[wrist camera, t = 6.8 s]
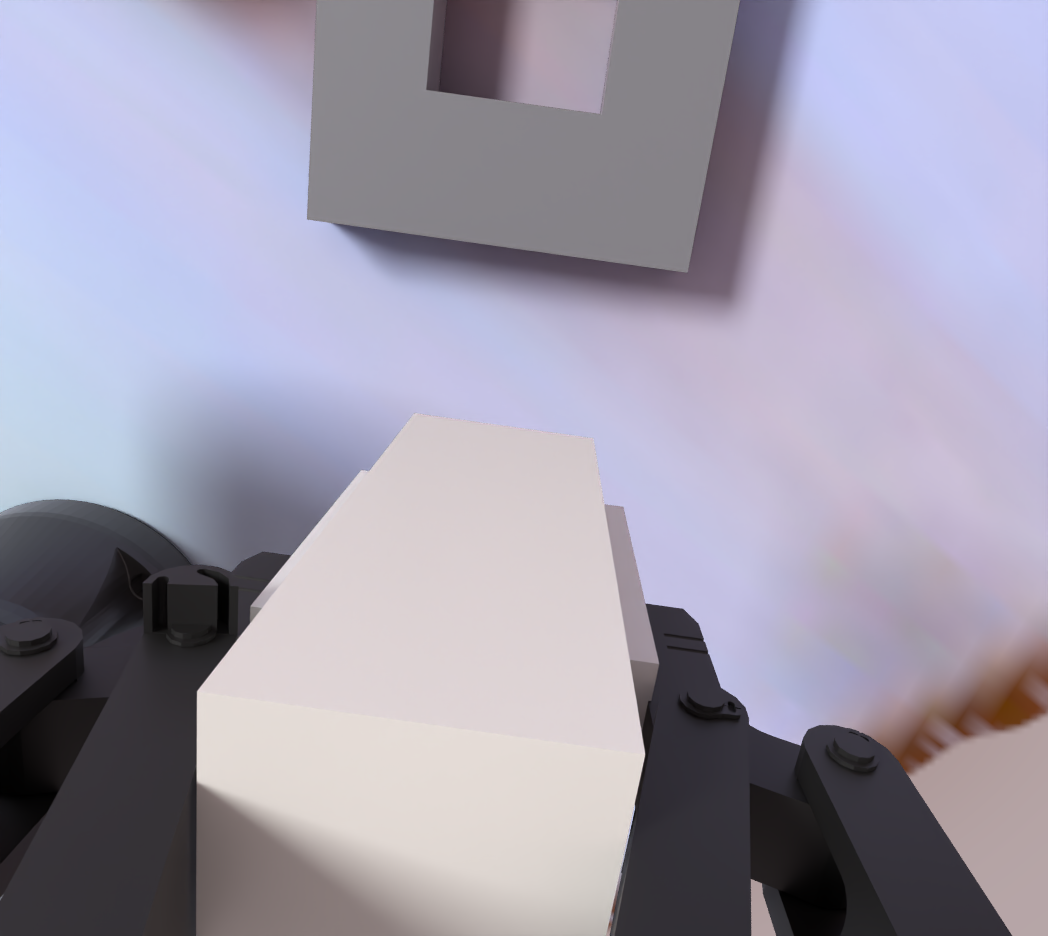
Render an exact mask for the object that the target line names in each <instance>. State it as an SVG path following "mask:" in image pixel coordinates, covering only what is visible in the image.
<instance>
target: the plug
mask: <svg viewBox="0 0 1048 936" xmlns="http://www.w3.org/2000/svg"><path fill="white" fill-rule="evenodd" d="M644 758H645V750H644V744H643V738H642V732H641V726H640V720H639V714H638V707H637V701H636V695H635V689H634V683H633V677H632V671H631V665H630V659H629V653H628V647H627V640H626V634H625V628H624V622H623V616H622V610H621V604H620V598H619V592H618V586H617V580H616V573H615V567H614V561H613V555H612V549H611V543H610V537H609V531H608V525H607V519H606V513H605V506H604V500H603V494H602V488H601V482H600V476H599V470H598V464H597V458H596V452H595V445H594V439H593V438H587V437H580V436H573V435H566V434H559V433H552V432H545V431H537V430H530V429H523V428H516V427H509V426H502V425H495V424H488V423H480V422H473V421H466V420H459V419H452V418H445V417H438V416H431V415H424V414H416V413H414V414H413V416H412V417H411V418H410V420H409V421H408V422H407V423H406V425H405V426H404V427H403V428H402V430H401V431H400V432H399V434H398V435H397V436H396V437H395V439H394V440H393V441H392V443H391V444H390V445H389V446H388V448H387V449H386V450H385V452H384V453H383V454H382V455H381V457H380V458H379V459H378V460H377V462H376V463H375V464H374V466H373V467H372V468H371V469H370V471H369V472H368V473H367V475H366V476H365V477H364V478H363V480H362V481H361V482H360V483H359V485H358V486H357V487H356V489H355V490H354V491H353V492H352V494H351V495H350V496H349V498H348V499H347V500H346V501H345V503H344V504H343V505H342V507H341V508H340V509H339V510H338V512H337V513H336V514H335V515H334V517H333V518H332V519H331V521H330V522H329V523H328V524H327V526H326V527H325V528H324V530H323V531H322V532H321V533H320V535H319V536H318V537H317V539H316V540H315V541H314V542H313V544H312V545H311V546H310V547H309V549H308V550H307V551H306V553H305V554H304V555H303V556H302V558H301V559H300V560H299V562H298V563H297V564H296V565H295V567H294V568H293V569H292V571H291V572H290V573H289V574H288V576H287V577H286V578H285V579H284V581H283V582H282V583H281V585H280V586H279V587H278V588H277V590H276V591H275V592H274V594H273V595H272V596H271V597H270V599H269V600H268V601H267V603H266V604H265V605H264V606H263V608H262V609H261V610H260V611H259V613H258V614H257V615H256V617H255V618H254V619H253V620H252V622H251V623H250V624H249V626H248V627H247V628H246V629H245V631H244V632H243V633H242V634H241V636H240V637H239V638H238V640H237V641H236V642H235V643H234V645H233V646H232V647H231V649H230V650H229V651H228V652H227V654H226V655H225V656H224V658H223V659H222V660H221V661H220V663H219V664H218V665H217V666H216V668H215V669H214V670H213V672H212V673H211V674H210V675H209V677H208V678H207V679H206V681H205V682H204V683H203V684H202V686H201V687H200V688H199V690H198V691H197V832H196V936H606V933H607V929H608V924H609V920H610V915H611V910H612V906H613V901H614V897H615V892H616V887H617V883H618V878H619V874H620V869H621V864H622V860H623V855H624V850H625V846H626V841H627V837H628V832H629V827H630V823H631V818H632V814H633V809H634V804H635V800H636V795H637V790H638V786H639V781H640V777H641V772H642V767H643V763H644Z"/></svg>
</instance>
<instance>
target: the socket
mask: <svg viewBox="0 0 1048 936" xmlns="http://www.w3.org/2000/svg"><path fill="white" fill-rule="evenodd" d="M739 4H740V0H617V4H616V11H615V18H614V24H613V31H612V38H611V44H610V51H609V58H608V64H607V71H606V78H605V84H604V91H603V98H602V104H601V111H600V114H596V113H589V112H581V111H574V110H567V109H560V108H553V107H545V106H538V105H531V104H524V103H517V102H509V101H502V100H495V99H488V98H481V97H474V96H466V95H459V94H452V93H445V92H439V85H440V74H441V63H442V52H443V41H444V30H445V19H446V7H447V0H317V5H316V28H315V50H314V73H313V96H312V118H311V141H310V164H309V186H308V209H307V219H308V220H315V221H322V222H329V223H336V224H343V225H350V226H358V227H365V228H372V229H379V230H386V231H393V232H400V233H407V234H415V235H422V236H429V237H436V238H443V239H450V240H457V241H465V242H472V243H479V244H486V245H493V246H500V247H507V248H514V249H522V250H529V251H536V252H543V253H550V254H557V255H564V256H571V257H579V258H586V259H593V260H600V261H607V262H614V263H621V264H629V265H636V266H643V267H650V268H657V269H664V270H671V271H678V272H686V273H688V268H689V263H690V258H691V253H692V248H693V243H694V237H695V232H696V227H697V222H698V217H699V211H700V206H701V201H702V196H703V191H704V186H705V180H706V175H707V170H708V165H709V160H710V154H711V149H712V144H713V139H714V134H715V129H716V123H717V118H718V113H719V108H720V103H721V97H722V92H723V87H724V82H725V77H726V72H727V66H728V61H729V56H730V51H731V46H732V40H733V35H734V30H735V25H736V20H737V15H738V9H739Z"/></svg>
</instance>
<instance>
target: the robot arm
mask: <svg viewBox="0 0 1048 936" xmlns="http://www.w3.org/2000/svg"><path fill="white" fill-rule="evenodd" d="M368 472H369V471H364V470H361V471H360V472H359V473H358V475H357V476H356V477H355V478H354V480H353V481H352V482H351V483H350V484H349V486H348V487H347V488H346V489H345V491H344V492H343V493H342V494H341V496H340V497H339V498H338V499H337V500H336V502H335V503H334V504H333V505H332V507H331V508H330V509H329V510H328V512H327V513H326V514H325V515H324V516H323V518H322V519H321V520H320V521H319V523H318V524H317V525H316V526H315V527H314V529H313V530H312V531H311V532H310V534H309V535H308V536H307V537H306V539H305V540H304V541H303V542H302V543H301V545H300V546H299V547H298V548H297V550H296V551H295V552H294V553H293V555H292V556H290V555H283V554H276V553H268V552H262V553H259V554H257V555H255V556H253V557H251V558H248V559H246V560H244V561H242V562H241V563H240V564H239V565H238V566H237V567H236V568H235V569H234V570H233V571H232V572H230V571H227V570H224V569H222V568H219V567H214V566H206V565H191V564H190V563H189V562H188V560H187V559H186V558H185V557H184V556H183V555H182V554H181V553H180V552H179V551H178V550H177V549H176V548H175V547H174V546H173V545H172V544H171V543H170V542H168V541H167V540H166V539H165V538H163V537H162V536H161V535H160V534H158V533H157V532H155V531H154V530H153V529H151V528H149V527H148V526H146V525H145V524H143V523H141V522H139V521H138V520H136V519H134V518H132V517H130V516H128V515H126V514H123V513H121V512H118V511H116V510H113V509H110V508H107V507H104V506H101V505H97V504H93V503H88V502H82V501H75V500H59V499H57V500H42V501H35V502H30V503H25V504H22V505H18V506H15V507H13V508H10V509H8V510H5V511H3V512H1V513H0V936H196V832H197V691H198V690H199V688H200V687H201V686H202V684H203V683H204V682H205V681H206V679H207V678H208V677H209V675H210V674H211V673H212V672H213V670H214V669H215V668H216V666H217V665H218V664H219V663H220V661H221V660H222V659H223V658H224V656H225V655H226V654H227V652H228V651H229V650H230V649H231V647H232V646H233V645H234V643H235V642H236V641H237V640H238V638H239V637H240V636H241V634H242V633H243V632H244V631H245V629H246V628H247V627H248V626H249V624H250V623H251V622H252V620H253V619H254V618H255V617H256V615H257V614H258V613H259V611H260V610H261V609H262V608H263V606H264V605H265V604H266V603H267V601H268V600H269V599H270V597H271V596H272V595H273V594H274V592H275V591H276V590H277V588H278V587H279V586H280V585H281V583H282V582H283V581H284V579H285V578H286V577H287V576H288V574H289V573H290V572H291V571H292V569H293V568H294V567H295V565H296V564H297V563H298V562H299V560H300V559H301V558H302V556H303V555H304V554H305V553H306V551H307V550H308V549H309V547H310V546H311V545H312V544H313V542H314V541H315V540H316V539H317V537H318V536H319V535H320V533H321V532H322V531H323V530H324V528H325V527H326V526H327V524H328V523H329V522H330V521H331V519H332V518H333V517H334V515H335V514H336V513H337V512H338V510H339V509H340V508H341V507H342V505H343V504H344V503H345V501H346V500H347V499H348V498H349V496H350V495H351V494H352V492H353V491H354V490H355V489H356V487H357V486H358V485H359V483H360V482H361V481H362V480H363V478H364V477H365V476H366V475H367V473H368ZM604 506H605V513H606V519H607V525H608V531H609V537H610V543H611V549H612V555H613V561H614V567H615V573H616V580H617V586H618V592H619V598H620V604H621V610H622V616H623V622H624V628H625V634H626V640H627V647H628V653H629V659H630V665H631V671H632V677H633V683H634V689H635V695H636V701H637V707H638V714H639V720H640V726H641V732H642V738H643V744H644V750H645V758H644V763H643V767H642V772H641V777H640V781H639V786H638V790H637V795H636V800H635V812H634V816H633V821H632V825H631V830H630V835H629V839H628V844H627V848H626V853H625V858H624V862H623V867H622V871H621V873H622V876H621V881H620V886H619V891H618V896H617V901H616V906H615V911H614V916H613V922H612V927H611V932H610V936H751V879H753V880H755V881H758V882H760V883H762V887H763V895H764V898H765V901H766V904H767V908H768V911H769V914H770V917H771V920H772V923H773V927H774V930H775V933H776V936H1012V935H1011V933H1010V932H1009V930H1008V929H1007V927H1006V926H1005V924H1004V922H1003V921H1002V919H1001V918H1000V916H999V915H998V913H997V912H996V910H995V909H994V907H993V906H992V904H991V903H990V901H989V900H988V898H987V896H986V895H985V893H984V892H983V890H982V889H981V888H980V886H979V884H978V883H977V881H976V880H975V878H974V877H973V875H972V873H971V872H970V870H969V869H968V867H967V866H966V864H965V863H964V861H963V860H962V858H961V857H960V855H959V853H958V852H957V851H956V849H955V847H954V846H953V844H952V843H951V841H950V840H949V838H948V837H947V835H946V834H945V832H944V831H943V829H942V827H941V826H940V824H939V823H938V821H937V820H936V818H935V817H934V815H933V814H932V812H931V811H930V809H929V807H928V806H927V804H926V803H925V801H924V800H923V798H922V797H921V795H920V794H919V792H918V791H917V789H916V788H915V786H914V784H913V783H912V782H911V780H910V778H909V777H908V775H907V774H906V772H905V771H904V769H903V768H902V766H901V765H900V763H899V761H898V760H897V759H896V758H895V757H894V756H893V755H892V754H891V752H890V751H889V750H888V749H887V748H885V747H884V746H882V745H881V744H880V743H878V742H877V741H875V740H874V739H872V738H871V737H869V736H867V735H865V734H863V733H859V731H856V730H853V729H850V728H844V727H840V726H835V725H819V726H816V727H814V728H811V729H808V731H807V732H806V734H805V736H804V737H803V741H802V744H801V746H800V745H797V744H794V743H791V742H788V741H785V740H782V739H779V738H776V737H773V736H771V735H768V734H766V733H764V732H761V731H759V730H757V729H755V728H754V727H752V726H750V725H749V717H748V714H747V711H746V708H745V707H744V706H743V705H742V703H741V702H740V701H739V700H738V699H737V698H736V697H734V696H733V695H731V694H730V693H728V692H726V691H725V690H723V689H721V687H720V684H719V681H718V678H717V675H716V673H715V670H714V667H713V664H712V661H711V658H710V655H709V654H708V650H707V647H706V644H705V642H703V640H704V638H703V636H702V633H701V630H700V627H699V624H698V623H697V622H696V621H695V620H694V619H693V618H692V617H691V616H690V615H689V614H688V613H687V612H686V611H685V610H684V609H680V608H673V607H666V606H659V605H652V604H645V600H644V595H643V591H642V587H641V582H640V578H639V574H638V569H637V565H636V560H635V556H634V552H633V547H632V543H631V539H630V534H629V530H628V526H627V521H626V517H625V512H624V508H623V507H620V506H613V505H606V504H604Z"/></svg>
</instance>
